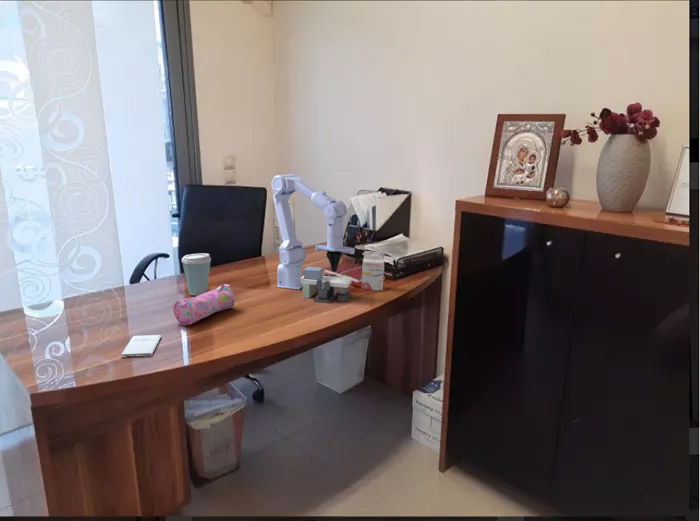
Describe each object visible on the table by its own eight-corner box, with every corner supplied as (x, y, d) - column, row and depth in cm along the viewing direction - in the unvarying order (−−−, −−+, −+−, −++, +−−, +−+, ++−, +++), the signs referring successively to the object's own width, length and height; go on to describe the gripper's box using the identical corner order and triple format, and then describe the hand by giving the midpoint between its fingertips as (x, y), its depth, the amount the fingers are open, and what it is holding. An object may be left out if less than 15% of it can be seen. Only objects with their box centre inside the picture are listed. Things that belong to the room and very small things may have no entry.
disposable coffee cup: (177, 295, 186) (174, 256, 182) (196, 286, 196) (193, 249, 192) (200, 299, 182) (198, 259, 178) (218, 290, 192) (216, 253, 188)
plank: (299, 290, 185) (299, 279, 183) (308, 282, 194) (308, 271, 193) (346, 295, 180) (346, 283, 179) (352, 287, 190) (353, 276, 188)
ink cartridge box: (361, 289, 196) (362, 253, 192) (362, 285, 201) (363, 250, 197) (382, 291, 196) (384, 254, 192) (383, 287, 200) (384, 251, 196)
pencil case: (219, 304, 178) (218, 280, 176) (238, 309, 174) (237, 284, 171) (171, 323, 160) (169, 297, 158) (191, 330, 156) (190, 303, 154)
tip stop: (338, 301, 183) (338, 296, 183) (343, 295, 190) (343, 290, 189) (345, 302, 183) (345, 297, 182) (350, 296, 189) (350, 291, 189)
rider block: (303, 279, 186) (303, 269, 185) (307, 276, 190) (307, 266, 189) (319, 281, 185) (319, 271, 184) (322, 277, 189) (322, 267, 188)
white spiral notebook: (121, 359, 137) (133, 340, 149) (152, 358, 138) (161, 339, 150) (120, 354, 137) (132, 335, 148) (151, 352, 138) (161, 334, 150)
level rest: (302, 297, 187) (302, 283, 185) (308, 291, 193) (308, 278, 192) (309, 298, 186) (309, 284, 184) (315, 292, 192) (315, 278, 191)
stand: (313, 301, 183) (313, 282, 180) (324, 290, 195) (324, 272, 193) (329, 303, 181) (329, 283, 179) (338, 292, 193) (339, 273, 191)
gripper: (312, 236, 179) (312, 272, 182) (351, 239, 175) (350, 275, 179) (318, 232, 185) (318, 266, 189) (356, 235, 182) (355, 270, 186)
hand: (334, 271), depth 184 cm, fingers closed
